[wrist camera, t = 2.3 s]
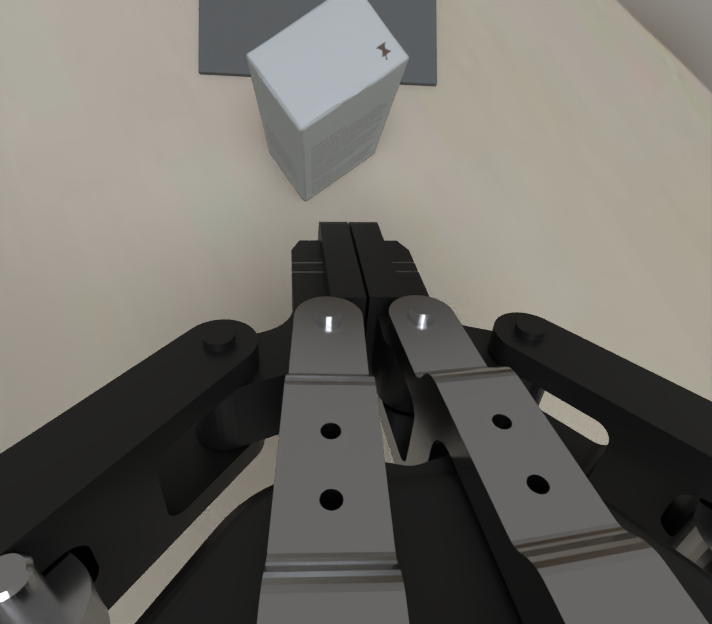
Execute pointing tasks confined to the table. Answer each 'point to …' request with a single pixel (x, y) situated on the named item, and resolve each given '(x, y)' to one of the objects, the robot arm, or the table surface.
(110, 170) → the table surface
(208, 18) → the mat
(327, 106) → the skincare box
